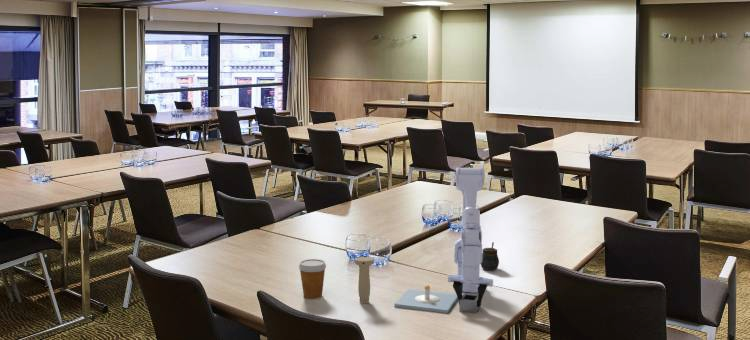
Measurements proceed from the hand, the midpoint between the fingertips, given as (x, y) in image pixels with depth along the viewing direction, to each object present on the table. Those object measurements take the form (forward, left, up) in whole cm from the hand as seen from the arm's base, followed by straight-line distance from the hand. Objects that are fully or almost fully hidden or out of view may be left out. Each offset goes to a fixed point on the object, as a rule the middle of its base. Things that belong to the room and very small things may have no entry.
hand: (469, 305), depth 229 cm
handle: (+5, -35, -2) cm, 35 cm away
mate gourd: (-47, -2, -2) cm, 47 cm away
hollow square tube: (0, 0, -1) cm, 1 cm away
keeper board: (-2, -15, -1) cm, 15 cm away
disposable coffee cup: (+5, -54, -2) cm, 54 cm away
